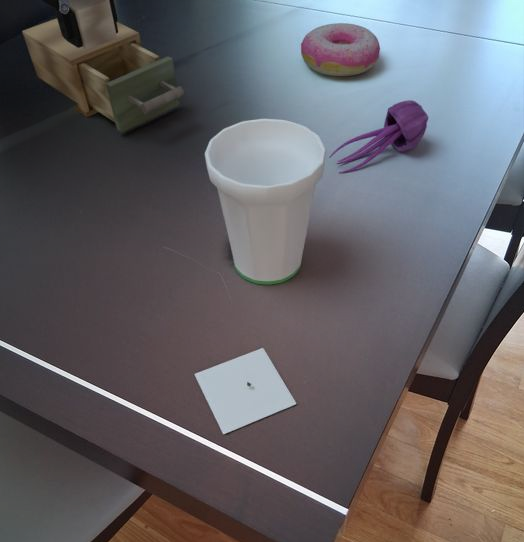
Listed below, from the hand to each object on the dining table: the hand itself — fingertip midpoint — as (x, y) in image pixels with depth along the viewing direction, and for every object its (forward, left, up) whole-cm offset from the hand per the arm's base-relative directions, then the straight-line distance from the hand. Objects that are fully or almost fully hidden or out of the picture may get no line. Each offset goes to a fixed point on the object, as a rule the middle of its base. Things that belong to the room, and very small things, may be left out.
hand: (92, 35), depth 71 cm
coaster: (-15, -44, -17) cm, 49 cm away
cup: (0, -32, -17) cm, 36 cm away
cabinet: (+9, +20, -17) cm, 28 cm away
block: (0, 0, 0) cm, 0 cm away
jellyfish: (+27, -27, -17) cm, 41 cm away
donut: (+44, -5, -17) cm, 47 cm away
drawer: (+9, +8, -16) cm, 20 cm away
